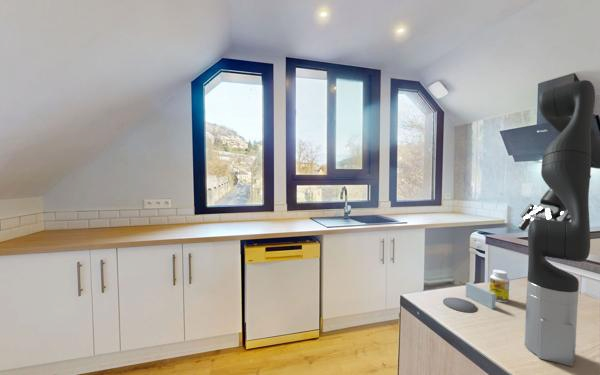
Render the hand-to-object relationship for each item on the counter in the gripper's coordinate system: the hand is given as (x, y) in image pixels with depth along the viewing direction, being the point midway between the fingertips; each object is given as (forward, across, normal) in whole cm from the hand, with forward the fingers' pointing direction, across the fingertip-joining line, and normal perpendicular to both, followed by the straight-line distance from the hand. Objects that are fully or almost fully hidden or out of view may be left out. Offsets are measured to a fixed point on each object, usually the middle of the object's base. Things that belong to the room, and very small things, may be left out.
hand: (531, 232), depth 93 cm
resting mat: (+35, +4, -9) cm, 37 cm away
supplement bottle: (+26, 0, +6) cm, 27 cm away
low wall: (+31, +2, -2) cm, 31 cm away
